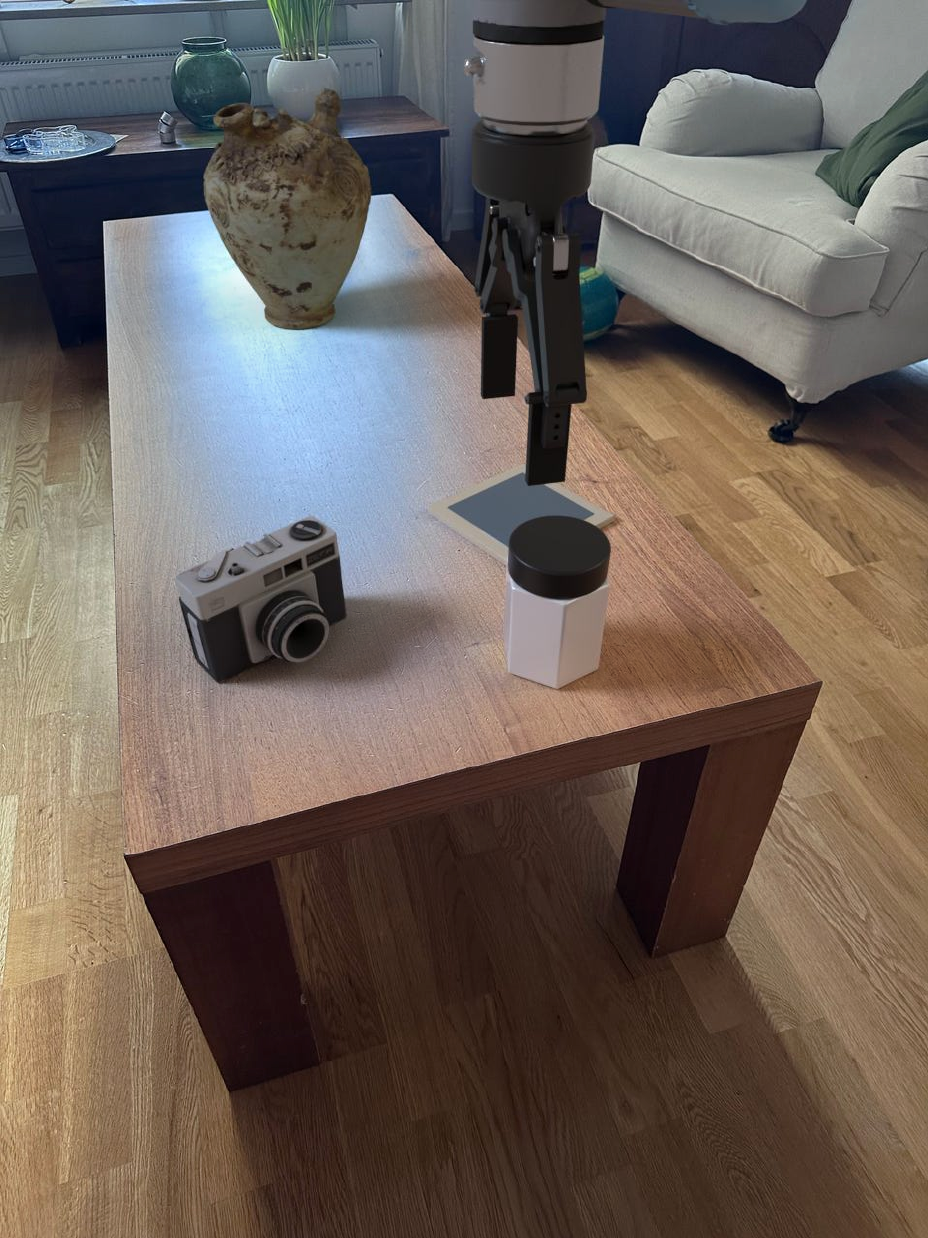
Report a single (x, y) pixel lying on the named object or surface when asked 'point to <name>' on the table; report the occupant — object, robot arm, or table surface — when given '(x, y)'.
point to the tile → (510, 509)
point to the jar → (555, 599)
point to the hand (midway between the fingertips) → (519, 435)
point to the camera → (264, 599)
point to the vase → (289, 206)
